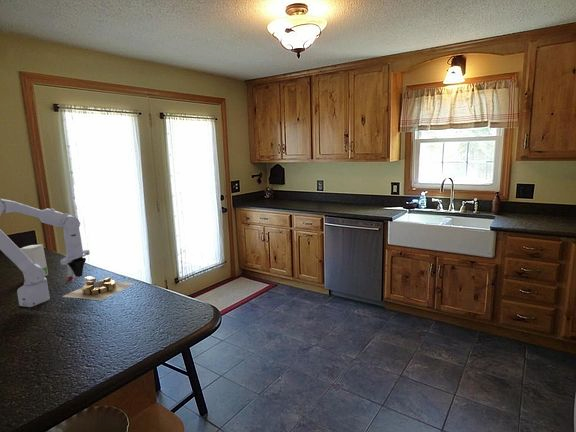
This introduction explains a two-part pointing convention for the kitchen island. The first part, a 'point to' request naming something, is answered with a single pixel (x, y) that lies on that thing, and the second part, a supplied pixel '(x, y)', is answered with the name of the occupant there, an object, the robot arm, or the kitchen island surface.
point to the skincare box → (36, 255)
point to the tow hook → (69, 274)
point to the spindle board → (99, 296)
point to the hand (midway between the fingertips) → (78, 276)
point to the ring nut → (90, 288)
